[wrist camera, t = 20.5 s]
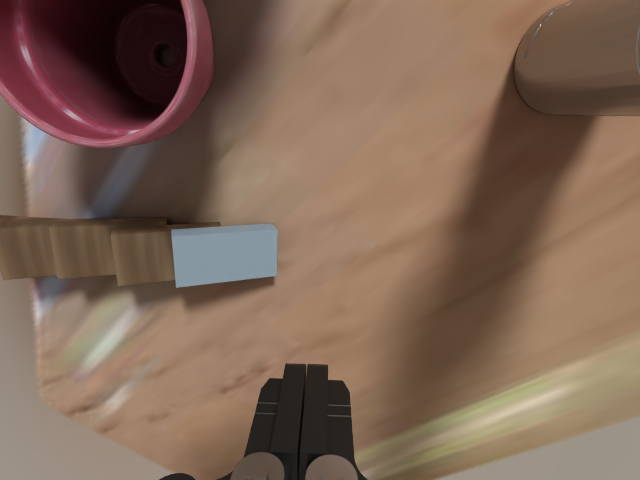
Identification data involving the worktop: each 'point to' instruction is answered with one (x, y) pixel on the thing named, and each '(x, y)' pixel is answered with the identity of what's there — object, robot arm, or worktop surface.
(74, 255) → the domino
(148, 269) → the domino
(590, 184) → the worktop surface
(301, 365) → the robot arm
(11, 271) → the domino
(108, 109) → the plant pot
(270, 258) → the domino
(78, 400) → the worktop surface
